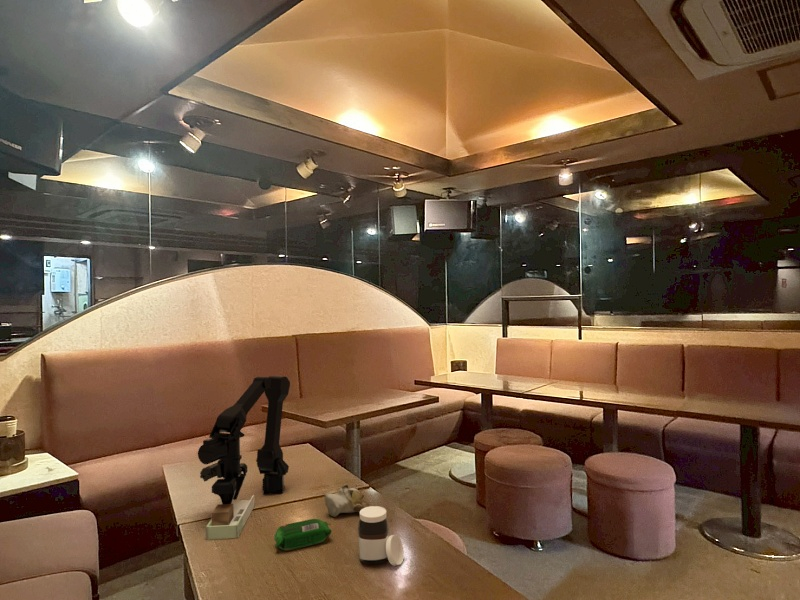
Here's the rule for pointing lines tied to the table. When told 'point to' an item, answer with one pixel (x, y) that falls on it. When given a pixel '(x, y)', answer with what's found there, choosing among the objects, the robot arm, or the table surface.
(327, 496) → the ceramic sculpture
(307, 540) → the snack package
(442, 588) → the table surface
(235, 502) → the tray
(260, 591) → the table surface
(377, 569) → the table surface
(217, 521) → the walnut block
